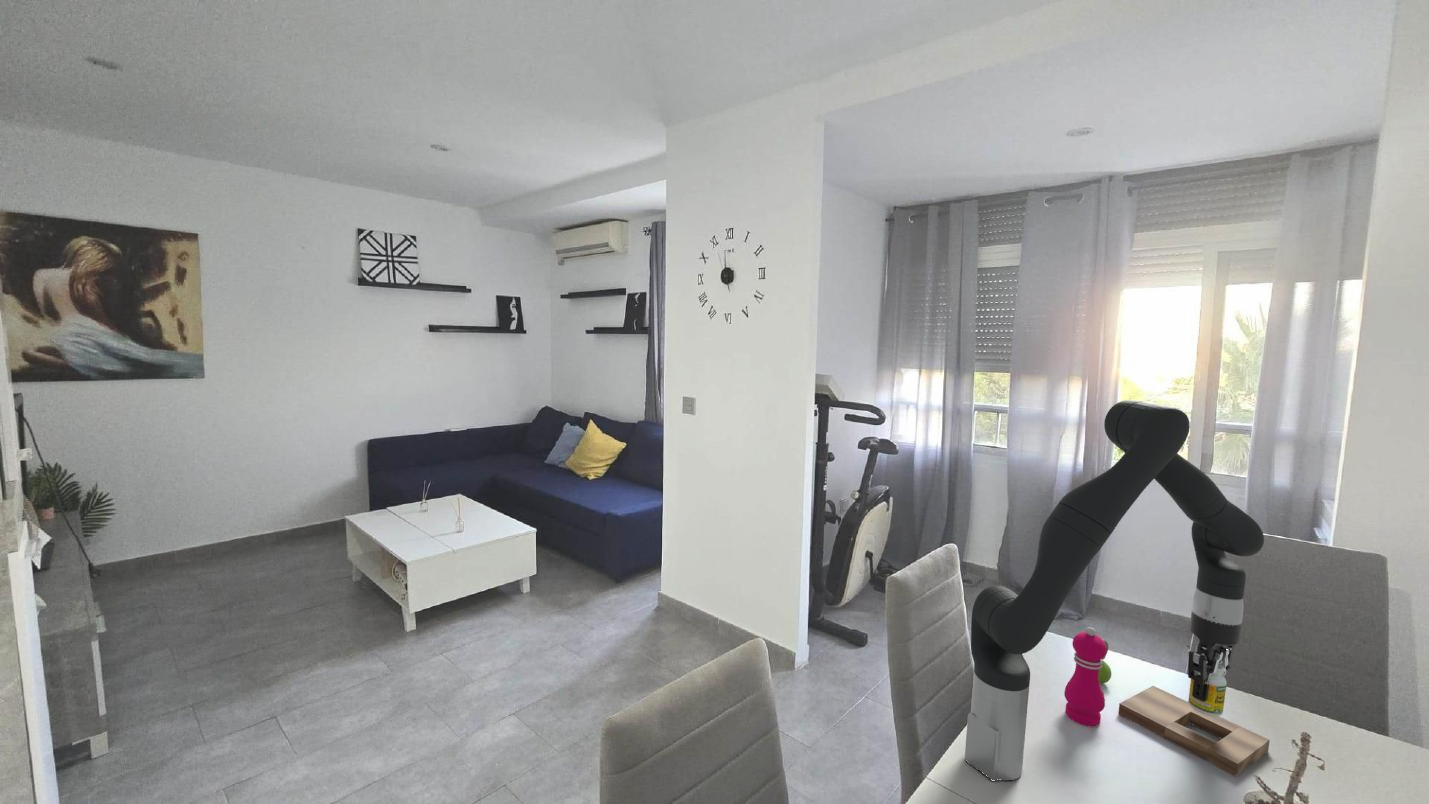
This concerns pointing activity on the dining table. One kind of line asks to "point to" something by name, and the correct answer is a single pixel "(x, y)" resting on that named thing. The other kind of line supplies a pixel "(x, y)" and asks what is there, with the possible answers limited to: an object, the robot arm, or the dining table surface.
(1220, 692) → the supplement bottle
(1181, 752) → the dining table surface
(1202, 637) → the robot arm
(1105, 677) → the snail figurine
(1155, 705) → the collar plate
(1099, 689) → the pepper mill
